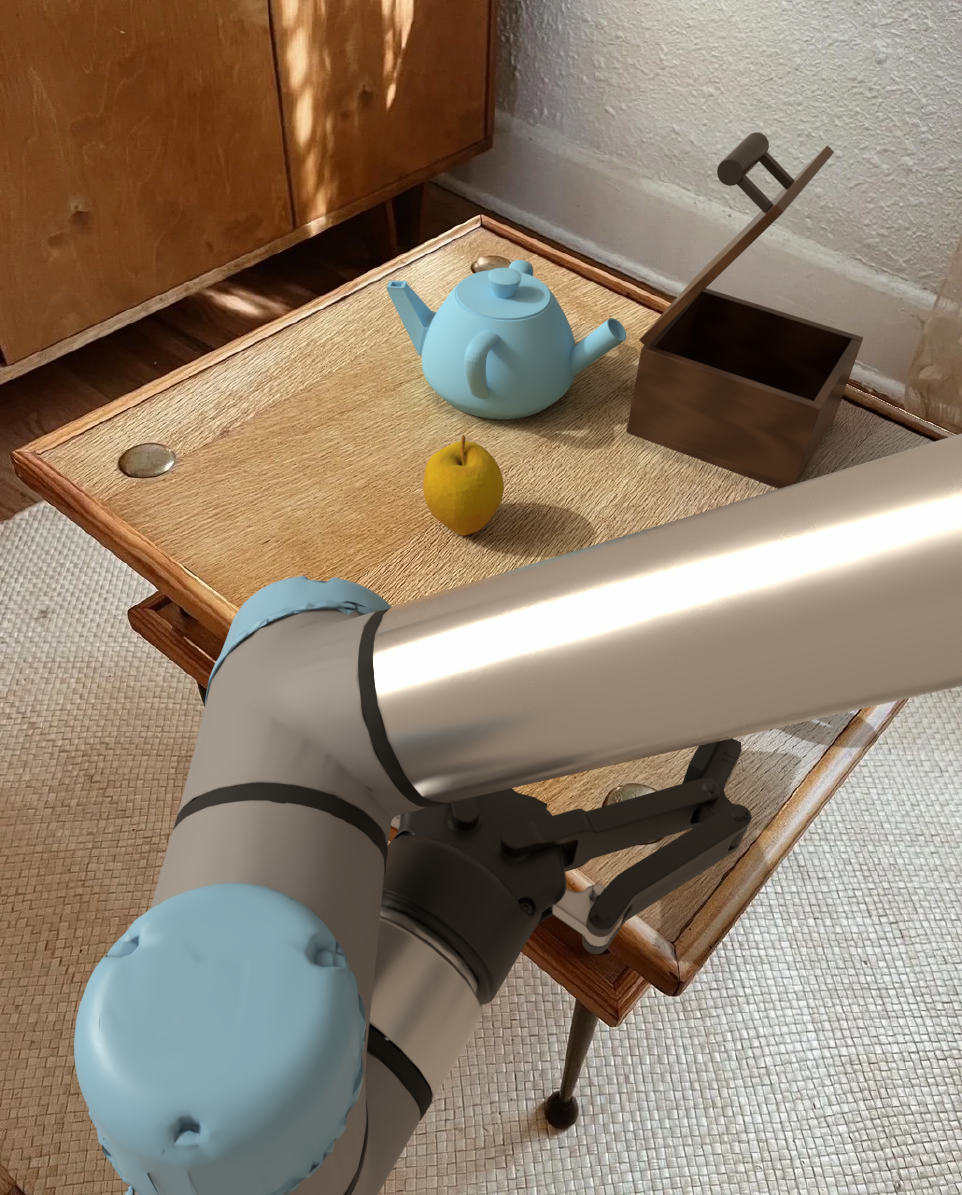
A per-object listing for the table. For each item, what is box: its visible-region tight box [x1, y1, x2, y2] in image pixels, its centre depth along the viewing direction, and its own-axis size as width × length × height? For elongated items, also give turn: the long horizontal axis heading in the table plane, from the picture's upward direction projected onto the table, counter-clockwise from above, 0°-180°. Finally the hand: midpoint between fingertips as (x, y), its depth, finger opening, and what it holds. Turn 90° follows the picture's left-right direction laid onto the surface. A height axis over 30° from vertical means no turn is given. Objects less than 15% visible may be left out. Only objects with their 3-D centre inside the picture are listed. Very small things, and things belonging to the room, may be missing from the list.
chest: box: [625, 287, 864, 489], centre depth 91 cm, size 16×13×9 cm
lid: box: [639, 131, 835, 346], centre depth 83 cm, size 16×13×6 cm
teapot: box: [386, 259, 628, 420], centre depth 93 cm, size 15×17×11 cm
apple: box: [422, 434, 505, 536], centre depth 81 cm, size 6×6×8 cm
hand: (621, 643), depth 57 cm, fingers open, 13 cm apart
